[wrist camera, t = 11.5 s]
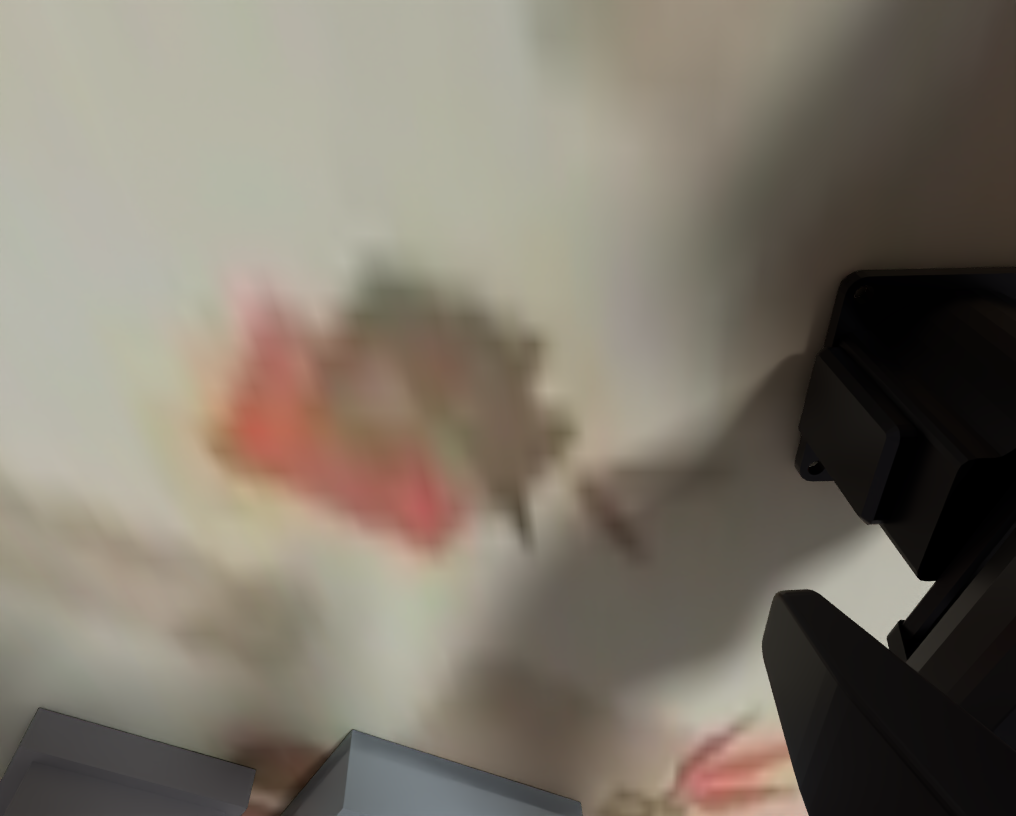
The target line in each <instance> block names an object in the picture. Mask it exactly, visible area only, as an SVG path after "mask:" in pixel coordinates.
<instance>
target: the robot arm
mask: <svg viewBox="0 0 1016 816" xmlns="http://www.w3.org/2000/svg"><path fill="white" fill-rule="evenodd" d="M866 285H867V289H866V291H865V292H864V294H862V295H861V296H859V297H855V298H854V295H855V293H856V291H857V290H858V289H859V288H860V287H862V286H866ZM799 431H800V433H801V438H800V442H799V446H798V450H797V454H796V458H795V467H796V469H797V470H798V472H799V473H800V475H801V477H802V478H803V479H805V480H807V481H834V482H835V483H836V485H837V486H838V488H839V489H840V490H841V492H842V493H843V495H844V496H845V498H846V499H847V500H848V502H849V503H850V505H851V506H852V508H853V509H854V511H855V512H856V513H857V515H858V516H859V517H860V518H861V519H862V520H863V521H864V522H865V523H866V524H867V525H872V524H879V525H880V526H881V528H882V529H883V530H884V532H885V533H886V535H887V536H888V537H889V539H890V540H891V542H892V543H893V544H894V546H895V547H896V548H897V550H898V551H899V553H900V554H901V555H902V557H903V558H904V560H905V561H906V562H907V564H908V565H909V567H910V568H911V569H912V571H913V572H914V574H915V575H916V576H917V577H918V578H919V579H920V580H922V581H936V582H935V583H934V584H933V585H932V587H931V588H930V589H929V591H928V592H927V593H926V594H925V596H924V597H923V598H922V600H921V601H920V602H919V603H918V605H917V606H916V607H915V608H914V610H913V611H912V612H911V614H910V615H909V616H908V617H907V619H906V620H900V621H899V622H898V623H897V624H896V625H895V627H894V628H893V629H892V630H891V632H890V633H889V634H888V636H887V642H888V647H889V649H888V648H886V647H885V646H884V645H883V644H881V643H880V642H879V641H878V640H876V639H875V638H874V637H873V636H871V635H870V634H869V633H868V632H866V631H865V630H864V629H863V628H861V627H860V626H859V625H858V624H856V623H855V622H854V621H853V620H851V619H850V618H849V617H848V616H846V615H845V614H844V613H843V612H841V611H840V610H839V609H838V608H836V607H835V606H834V605H833V604H831V603H830V602H829V601H828V600H826V599H825V598H824V597H823V596H821V595H820V594H819V593H817V592H815V591H813V590H809V589H803V590H785V591H780V592H778V593H777V594H776V595H775V596H774V598H773V601H772V604H771V608H770V612H769V616H768V620H767V624H766V627H765V631H764V635H763V640H762V653H763V659H764V663H765V667H766V671H767V674H768V678H769V682H770V685H771V689H772V693H773V696H774V700H775V704H776V707H777V711H778V715H779V718H780V722H781V726H782V729H783V733H784V737H785V740H786V744H787V748H788V751H789V755H790V759H791V762H792V766H793V769H794V773H795V776H796V780H797V783H798V786H799V790H800V792H801V795H802V798H803V801H804V804H805V806H806V809H807V812H808V815H809V816H1016V267H988V268H943V269H899V270H861V271H856V272H853V273H852V274H850V275H848V276H847V277H846V278H845V279H844V280H843V281H842V282H841V284H840V286H839V289H838V292H837V296H836V300H835V304H834V308H833V312H832V316H831V320H830V324H829V328H828V332H827V336H826V340H825V344H824V347H823V348H822V349H821V351H820V352H819V353H818V354H817V356H816V359H815V363H814V367H813V371H812V375H811V379H810V383H809V387H808V391H807V395H806V399H805V403H804V407H803V411H802V415H801V419H800V423H799ZM816 461H819V462H818V463H817V464H816V465H814V466H811V467H809V466H810V464H812V463H813V462H816Z"/></svg>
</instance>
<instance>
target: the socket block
mask: <svg viewBox="0 0 1016 816" xmlns="http://www.w3.org/2000/svg"><path fill="white" fill-rule="evenodd" d="M255 772H256V770H255V769H251V768H248V767H244V766H241V765H237V764H234V763H230V762H227V761H223V760H220V759H216V758H213V757H209V756H206V755H202V754H199V753H195V752H192V751H188V750H185V749H181V748H178V747H174V746H171V745H167V744H164V743H160V742H157V741H154V740H150V739H147V738H143V737H140V736H136V735H133V734H129V733H126V732H122V731H119V730H115V729H112V728H108V727H105V726H101V725H98V724H94V723H91V722H87V721H84V720H80V719H77V718H73V717H70V716H66V715H63V714H59V713H56V712H52V711H49V710H45V709H42V708H39V709H38V711H37V712H36V714H35V716H34V718H33V720H32V722H31V724H30V726H29V728H28V730H27V732H26V733H25V735H24V737H23V739H22V741H21V743H20V745H19V747H18V749H17V751H16V753H15V755H14V757H13V758H12V760H11V762H10V764H9V766H8V768H7V770H6V772H5V774H4V776H3V778H2V780H1V782H0V816H241V815H242V814H243V813H244V811H245V810H246V809H247V807H248V803H249V798H250V794H251V789H252V785H253V781H254V776H255Z"/></svg>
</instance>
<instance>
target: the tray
mask: <svg viewBox="0 0 1016 816" xmlns="http://www.w3.org/2000/svg"><path fill="white" fill-rule="evenodd" d="M280 816H583V815H582V808H581V803H580V802H577V801H574V800H571V799H568V798H565V797H562V796H559V795H555V794H552V793H549V792H546V791H543V790H540V789H537V788H534V787H530V786H527V785H524V784H521V783H518V782H515V781H512V780H509V779H505V778H502V777H499V776H496V775H493V774H490V773H487V772H484V771H481V770H477V769H474V768H471V767H468V766H465V765H462V764H459V763H456V762H452V761H449V760H446V759H443V758H440V757H437V756H434V755H431V754H427V753H424V752H421V751H418V750H415V749H412V748H409V747H406V746H402V745H399V744H396V743H393V742H390V741H387V740H384V739H381V738H378V737H374V736H371V735H368V734H365V733H362V732H359V731H356V730H352V731H351V732H350V733H349V734H348V735H347V737H346V738H345V739H344V740H343V741H342V743H341V744H340V745H339V746H338V747H337V749H336V750H335V751H334V752H333V753H332V755H331V756H330V757H329V758H328V759H327V761H326V762H325V763H324V764H323V765H322V766H321V768H320V769H319V770H318V771H317V772H316V774H315V775H314V776H313V777H312V778H311V780H310V781H309V782H308V783H307V784H306V786H305V787H304V788H303V789H302V790H301V792H300V793H299V794H298V795H297V796H296V797H295V799H294V800H293V801H292V802H291V803H290V805H289V806H288V807H287V808H286V809H285V811H284V812H283V813H282V814H281V815H280Z"/></svg>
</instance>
